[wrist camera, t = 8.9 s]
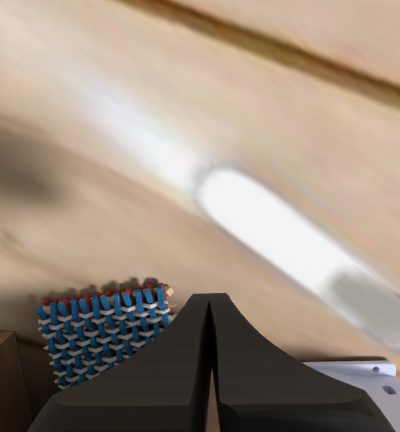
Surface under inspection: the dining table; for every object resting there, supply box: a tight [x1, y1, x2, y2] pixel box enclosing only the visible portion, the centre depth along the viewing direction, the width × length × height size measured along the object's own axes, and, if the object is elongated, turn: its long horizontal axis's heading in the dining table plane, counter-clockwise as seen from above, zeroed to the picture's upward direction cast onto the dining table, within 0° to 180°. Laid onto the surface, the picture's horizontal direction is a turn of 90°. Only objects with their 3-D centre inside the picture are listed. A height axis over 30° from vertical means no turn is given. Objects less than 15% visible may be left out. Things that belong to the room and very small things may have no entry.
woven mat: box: [36, 283, 177, 390], centre depth 23 cm, size 10×11×2 cm
